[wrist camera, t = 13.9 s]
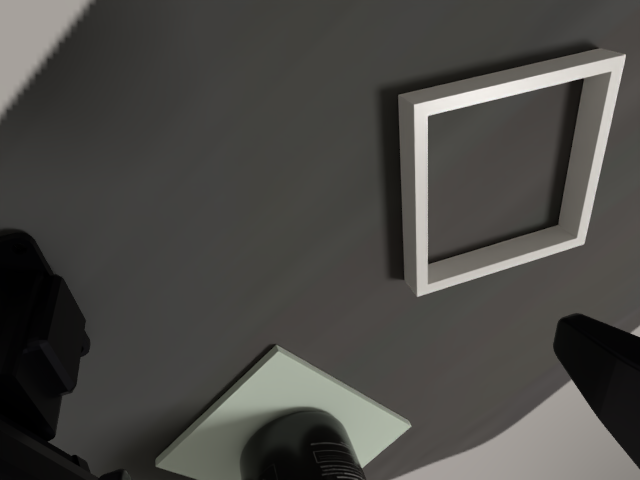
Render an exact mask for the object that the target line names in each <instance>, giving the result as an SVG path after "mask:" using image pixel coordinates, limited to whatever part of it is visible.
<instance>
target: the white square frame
mask: <svg viewBox="0 0 640 480" xmlns="http://www.w3.org/2000/svg"><path fill="white" fill-rule="evenodd" d="M625 57H626V54H622V53H618V52H614V51H610V50H606V49H601V48H599V49H594V50H590V51H586V52H581V53H577V54H573V55H568V56H564V57H560V58H555V59H551V60H547V61H542V62H538V63H534V64H529V65H525V66H521V67H516V68H512V69H508V70H503V71H499V72H495V73H490V74H486V75H482V76H477V77H473V78H469V79H464V80H460V81H456V82H451V83H447V84H443V85H438V86H434V87H430V88H425V89H421V90H417V91H412V92H408V93H404V94H399V95H398V106H399V135H400V164H401V193H402V222H403V251H404V280H405V282H406V283H407V284H408V286H409V287H410V288H411V289H412V291H413V292H414V293H415V295H416V296H417V297H418V296H422V295H425V294H428V293H431V292H434V291H437V290H441V289H444V288H447V287H450V286H453V285H456V284H460V283H463V282H466V281H469V280H472V279H475V278H479V277H482V276H485V275H488V274H491V273H494V272H498V271H501V270H504V269H507V268H510V267H514V266H517V265H520V264H523V263H526V262H529V261H533V260H536V259H539V258H542V257H545V256H548V255H552V254H555V253H558V252H561V251H564V250H567V249H571V248H574V247H577V246H580V245H583V244H584V243H585V239H586V234H587V230H588V225H589V221H590V216H591V212H592V207H593V202H594V198H595V193H596V189H597V184H598V180H599V175H600V171H601V166H602V162H603V157H604V153H605V148H606V144H607V139H608V134H609V130H610V125H611V121H612V116H613V112H614V107H615V103H616V98H617V94H618V89H619V85H620V80H621V76H622V71H623V67H624V62H625ZM582 78H584V82H583V87H582V93H581V99H580V104H579V110H578V115H577V121H576V127H575V132H574V138H573V143H572V149H571V155H570V160H569V166H568V171H567V177H566V183H565V188H564V194H563V199H562V205H561V211H560V216H559V222H558V225H556V226H553V227H550V228H546V229H543V230H540V231H536V232H533V233H530V234H526V235H523V236H520V237H517V238H513V239H510V240H507V241H503V242H500V243H497V244H494V245H490V246H487V247H484V248H480V249H477V250H474V251H470V252H467V253H464V254H461V255H457V256H454V257H451V258H447V259H444V260H441V261H438V262H434V263H431V264H428V116H429V115H433V114H437V113H441V112H446V111H450V110H454V109H458V108H462V107H466V106H470V105H474V104H479V103H483V102H487V101H491V100H495V99H499V98H503V97H507V96H512V95H516V94H520V93H524V92H528V91H532V90H536V89H540V88H545V87H549V86H553V85H557V84H561V83H565V82H569V81H573V80H578V79H582Z"/></svg>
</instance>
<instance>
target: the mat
mask: <svg viewBox="0 0 640 480" xmlns="http://www.w3.org/2000/svg"><path fill="white" fill-rule="evenodd" d="M300 411H319V412H324V413H327V414H329V415H331V416H333V417H335V418H336V419H338V420H339V421H340V422H341V423H342V424H343V426H344V427H345V429H346V431H347V434H348V436H349V438H350V441H351V443H352V445H353V448H354V450H355V453H356V455H357V458H358V460H359V463H360V465H361V468H363V467H364V466H365V465H366V464H367V463H369V462H370V461H371V460H372V459H373V458H375V457H376V456H377V455H378V454H379V453H380V452H382V451H383V450H384V449H385V448H386V447H388V446H389V445H390V444H391V443H392V442H394V441H395V440H396V439H397V438H398V437H399V436H401V435H402V434H403V433H404V432H405V431H407V430H408V429H409V428H410V427H411V424H410V422H409V421H408V420H407V419H405V418H403V417H402V416H400V415H398V414H396V413H395V412H393V411H391V410H389V409H388V408H386V407H384V406H382V405H381V404H379V403H377V402H376V401H374V400H372V399H370V398H369V397H367V396H365V395H363V394H362V393H360V392H358V391H356V390H355V389H353V388H351V387H349V386H348V385H346V384H344V383H342V382H341V381H339V380H337V379H335V378H334V377H332V376H330V375H328V374H327V373H325V372H323V371H321V370H320V369H318V368H316V367H314V366H313V365H311V364H309V363H308V362H306V361H304V360H302V359H301V358H299V357H297V356H295V355H294V354H292V353H290V352H288V351H287V350H285V349H283V348H281V347H280V346H278V345H275V346H274V347H273V348H272V349H271V350H270V351H269V352H268V353H267V354H266V355H265V356H264V357H263V358H262V359H261V360H260V361H258V362H257V363H256V364H255V365H254V366H253V367H252V368H251V369H250V370H249V371H248V372H247V373H246V374H245V375H244V376H243V377H242V378H240V379H239V380H238V381H237V382H236V383H235V384H234V385H233V386H232V387H231V388H230V389H229V390H228V391H227V392H226V393H225V394H224V395H222V396H221V397H220V398H219V399H218V400H217V401H216V402H215V403H214V404H213V405H212V406H211V407H210V408H209V409H208V410H207V411H206V412H205V413H203V414H202V415H201V416H200V417H199V418H198V419H197V420H196V421H195V422H194V423H193V424H192V425H191V426H190V427H189V428H188V429H187V430H185V431H184V432H183V433H182V434H181V435H180V436H179V437H178V438H177V439H176V440H175V441H174V442H173V443H172V444H171V445H170V446H169V447H167V448H166V449H165V450H164V451H163V452H162V453H161V454H160V455H159V456H158V457H157V458H156V459H155V463H156V467H158V468H161V469H165V470H168V471H171V472H174V473H178V474H181V475H184V476H187V477H191V478H194V479H197V480H241V474H240V465H239V464H240V456H241V453H242V450H243V448H244V446H245V445H246V443H247V441H248V440H249V439H250V437H251V436H252V435H253V434H254V433H255V432H256V431H257V430H259V429H260V428H261V427H263V426H264V425H265V424H267V423H269V422H270V421H272V420H274V419H276V418H279V417H281V416H284V415H287V414H290V413H294V412H300Z"/></svg>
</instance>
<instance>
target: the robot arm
mask: <svg viewBox="0 0 640 480" xmlns="http://www.w3.org/2000/svg"><path fill="white" fill-rule="evenodd" d="M18 243H21V244H23V245H25V246H26V247H27V248H26V249H18V248H16V247H15V246H14V244H18ZM85 322H86V320H85V318H84V316H83V314H82V312H81V310H80V309H79V307H78V305H77V303H76V301H75V299H74V297H73V296H72V294H71V292H70V290H69V288H68V286H67V284H66V283H65V281H64V279H63V278H62V277H60V276H59V275H57V274H53V272H52V270H51V268H50V267H49V265H48V263H47V261H46V259H45V258H44V256H43V254H42V252H41V250H40V248H39V247H38V245H37V243H36V241H35V240H34V239H33V237H32V236H30V235H28V234H25V233H14V234H10V235H6V236H2V237H0V480H132V479H131V478H130V476H129V474H128V473H127V471H126V470H124V469H118V470H115V471H112V472H110V473H107V474H104V475H102V476H101V477H100V478H98V477H96V476H94V475H93V474H91V473H90V470H89V467H88V464H87V462H86V461H85V460H83V459H81V458H80V457H78V456H77V455H73V456H70V455H69V454H67V453H65V452H64V451H62V450H60V449H59V448H57V447H55V446H54V445H52V444H50V443H49V442H47V441H50V440H52V439H53V438H54V437H55V435H56V429H57V424H58V418H59V412H60V406H61V400H62V396H63V395H66V394H69V393H72V392H73V390H74V388H75V387H76V384H77V377H78V370H79V363H80V357H82V356H84V355H86V354H87V353H88V352H89V349H90V339H89V337H88V336H87V334H86V332H85V330H84V329H85ZM553 348H554V352H555V354H556V356H557V358H558V359H559V361H560V362H561V364H562V365H563V367H564V368H565V370H566V371H567V373H568V374H569V376H570V377H571V379H572V380H573V382H574V383H575V385H576V386H577V388H578V389H579V391H580V392H581V394H582V395H583V397H584V398H585V400H586V401H587V403H588V404H589V405H590V407H591V409H592V410H593V411H594V413H595V414H596V416H597V417H598V418H599V420H600V421H601V422H602V423H603V424H604V426H605V427H606V428H607V429H608V431H609V432H610V433H611V434H612V436H613V437H614V438H615V440H616V441H617V442H618V443H619V444H620V446H621V447H622V448H623V449H624V450H625V452H626V453H627V454H628V455H629V457H630V458H631V459H632V460H633V462H634V463H635V464H636V465H637V466H638V468H639V469H640V337H638V336H635V335H633V334H630V333H628V332H625V331H623V330H620V329H618V328H615V327H613V326H610V325H608V324H605V323H603V322H600V321H598V320H595V319H593V318H590V317H588V316H585V315H583V314H579V313H575V314H571V315H568V316H566V317H563V318H561V319H560V320H559V321H558V323H557V328H556V333H555V338H554V343H553Z"/></svg>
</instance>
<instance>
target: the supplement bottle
mask: <svg viewBox="0 0 640 480" xmlns="http://www.w3.org/2000/svg"><path fill="white" fill-rule="evenodd" d="M239 465H240V474H241V480H366V477H365V475H364V472H363V470H362V468H361V465H360V463H359V460H358V458H357V455H356V453H355V450H354V448H353V445H352V443H351V441H350V438H349V436H348V434H347V431H346V429H345V427H344V426H343V424H342V423H341V422H340V421H339V420H338V419H336V418H335V417H333V416H331V415H329V414H327V413H324V412H319V411H300V412H294V413H290V414H287V415H284V416H281V417H279V418H276V419H274V420H272V421H270V422H269V423H267V424H265V425H264V426H263V427H261V428H260V429H259V430H257V431H256V432H255V433H254V434H253V435H252V436H251V437H250V439H249V440H248V441H247V443H246V445H245V446H244V448H243V450H242V453H241V456H240V464H239Z"/></svg>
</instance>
